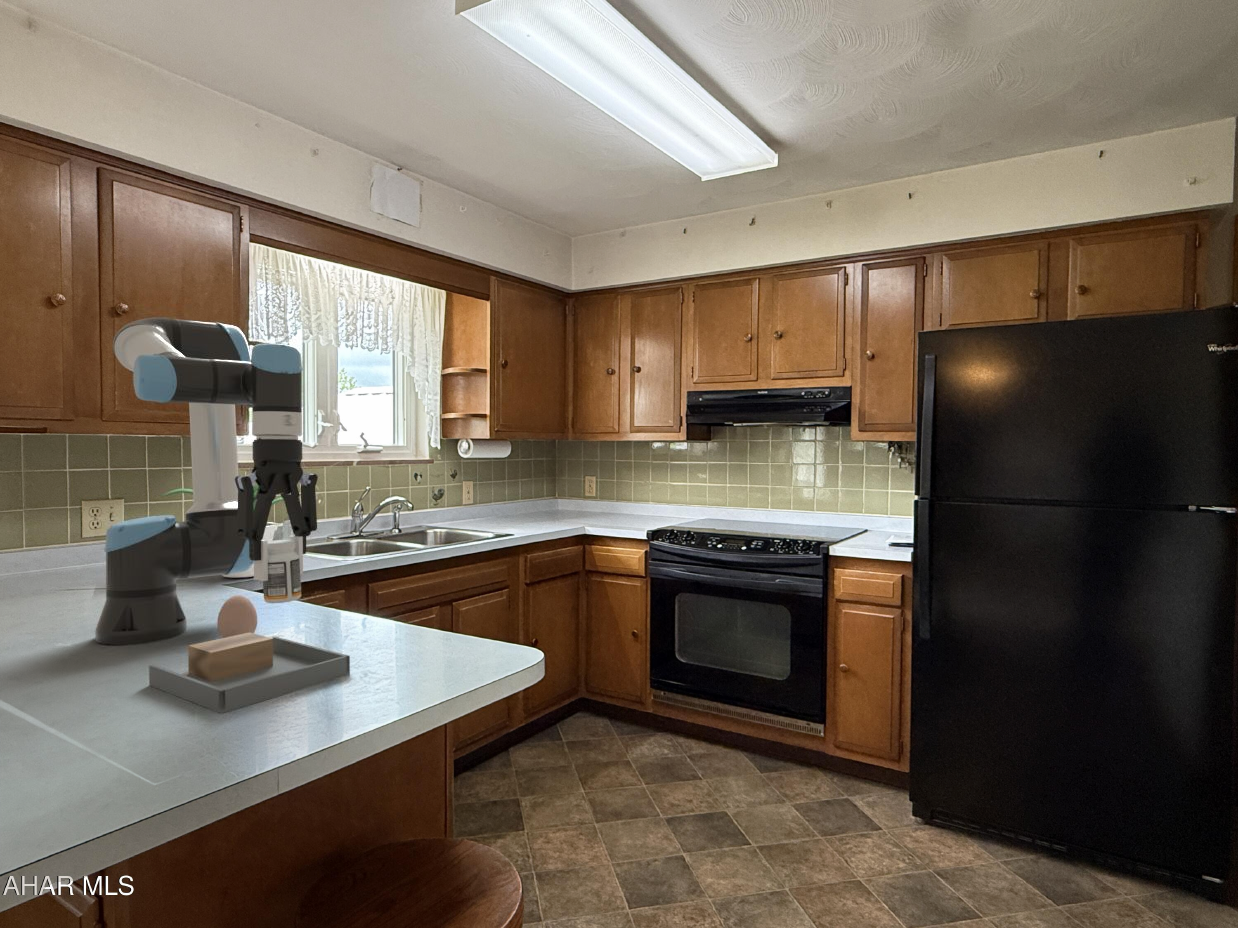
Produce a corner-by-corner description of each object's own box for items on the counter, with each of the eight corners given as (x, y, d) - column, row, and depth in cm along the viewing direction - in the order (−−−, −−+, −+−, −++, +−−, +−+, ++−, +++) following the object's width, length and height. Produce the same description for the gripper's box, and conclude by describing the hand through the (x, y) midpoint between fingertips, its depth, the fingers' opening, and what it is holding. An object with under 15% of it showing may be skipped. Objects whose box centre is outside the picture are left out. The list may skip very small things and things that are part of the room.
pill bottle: (288, 595, 125) (286, 538, 125) (308, 598, 122) (305, 539, 122) (256, 602, 120) (253, 542, 120) (276, 605, 117) (273, 544, 117)
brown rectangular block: (188, 673, 116) (188, 645, 116) (249, 658, 124) (249, 632, 124) (211, 681, 112) (211, 652, 112) (273, 665, 120) (272, 638, 120)
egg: (209, 648, 132) (209, 598, 132) (229, 638, 139) (229, 591, 139) (246, 648, 132) (245, 599, 132) (264, 639, 139) (263, 591, 139)
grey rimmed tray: (149, 684, 112) (149, 665, 112) (275, 653, 129) (275, 636, 129) (221, 713, 100) (220, 690, 100) (349, 674, 118) (349, 655, 117)
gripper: (235, 437, 111) (237, 588, 112) (340, 438, 127) (341, 571, 127) (208, 437, 115) (210, 583, 115) (313, 439, 131) (314, 567, 131)
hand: (278, 576), depth 121 cm, fingers closed on pill bottle, 6 cm apart
